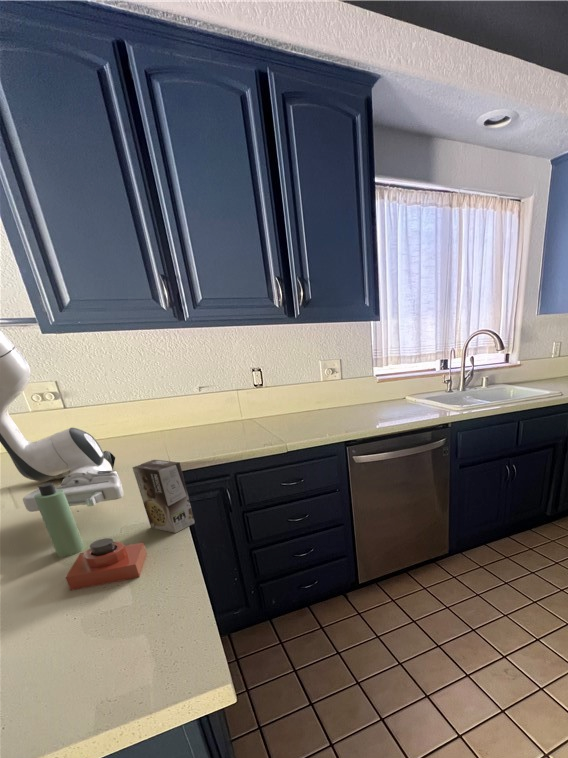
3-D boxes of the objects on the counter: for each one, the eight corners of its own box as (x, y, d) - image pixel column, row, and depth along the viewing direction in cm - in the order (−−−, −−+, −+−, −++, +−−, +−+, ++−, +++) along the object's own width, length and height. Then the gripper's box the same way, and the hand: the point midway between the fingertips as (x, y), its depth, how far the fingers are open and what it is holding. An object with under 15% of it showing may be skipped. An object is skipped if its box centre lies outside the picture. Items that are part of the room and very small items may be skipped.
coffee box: (196, 522, 108) (181, 461, 101) (175, 533, 103) (158, 470, 96) (170, 517, 112) (154, 458, 105) (149, 528, 106) (131, 466, 100)
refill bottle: (54, 558, 94) (26, 490, 87) (61, 547, 98) (35, 482, 92) (81, 553, 95) (55, 486, 89) (87, 543, 100) (63, 479, 93)
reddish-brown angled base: (70, 590, 82) (61, 568, 80) (84, 565, 90) (77, 544, 88) (139, 577, 85) (132, 555, 83) (147, 554, 94) (141, 534, 92)
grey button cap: (90, 558, 84) (87, 549, 83) (95, 549, 87) (92, 540, 86) (113, 554, 85) (110, 545, 84) (117, 545, 88) (114, 536, 87)
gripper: (31, 481, 106) (7, 501, 94) (123, 469, 112) (111, 486, 100) (40, 504, 109) (18, 526, 97) (129, 492, 115) (119, 511, 103)
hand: (66, 506), depth 99 cm, fingers open, 8 cm apart
